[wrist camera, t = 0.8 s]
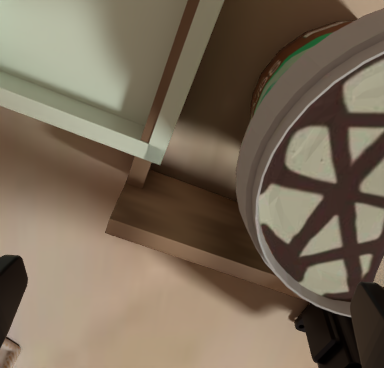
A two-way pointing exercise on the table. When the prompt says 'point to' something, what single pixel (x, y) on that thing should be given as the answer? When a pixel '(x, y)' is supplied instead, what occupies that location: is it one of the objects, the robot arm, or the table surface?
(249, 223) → the food container
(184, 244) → the wooden pieces
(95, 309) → the table surface
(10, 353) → the decorative jar
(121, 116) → the tray
